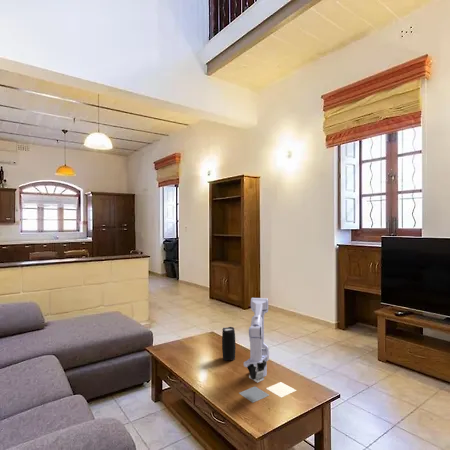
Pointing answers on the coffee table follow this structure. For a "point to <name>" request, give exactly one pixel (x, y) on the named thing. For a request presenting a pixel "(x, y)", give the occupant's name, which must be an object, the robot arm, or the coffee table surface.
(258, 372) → the block
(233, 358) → the portable speaker
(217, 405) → the coffee table surface
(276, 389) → the stand
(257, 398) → the stand
